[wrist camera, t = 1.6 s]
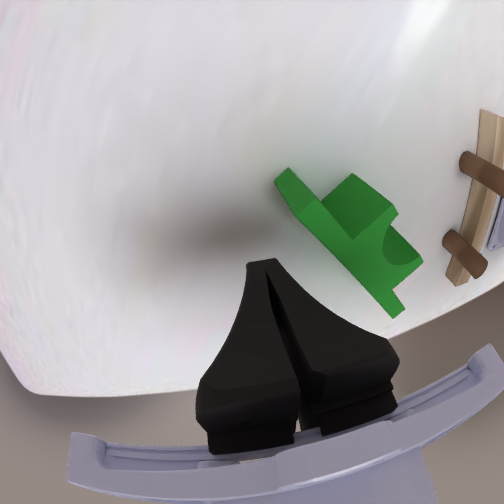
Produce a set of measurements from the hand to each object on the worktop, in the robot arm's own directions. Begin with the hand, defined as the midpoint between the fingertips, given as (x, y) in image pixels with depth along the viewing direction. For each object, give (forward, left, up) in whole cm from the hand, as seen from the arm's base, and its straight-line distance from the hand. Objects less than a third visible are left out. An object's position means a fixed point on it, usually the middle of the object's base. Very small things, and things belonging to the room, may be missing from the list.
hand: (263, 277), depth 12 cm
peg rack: (-18, 0, -4) cm, 18 cm away
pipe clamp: (-6, +1, -5) cm, 8 cm away
